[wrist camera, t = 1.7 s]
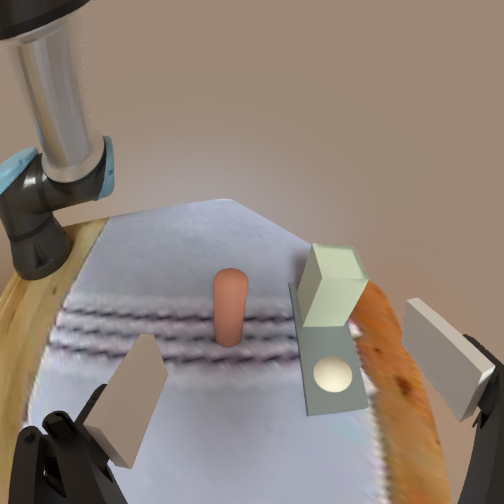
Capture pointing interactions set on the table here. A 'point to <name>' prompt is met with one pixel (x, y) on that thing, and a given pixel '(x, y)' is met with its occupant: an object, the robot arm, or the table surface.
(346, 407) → the board
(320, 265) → the pale green block
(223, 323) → the peg
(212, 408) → the table surface
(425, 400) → the table surface
